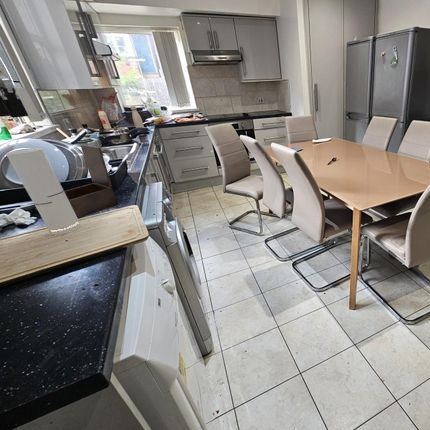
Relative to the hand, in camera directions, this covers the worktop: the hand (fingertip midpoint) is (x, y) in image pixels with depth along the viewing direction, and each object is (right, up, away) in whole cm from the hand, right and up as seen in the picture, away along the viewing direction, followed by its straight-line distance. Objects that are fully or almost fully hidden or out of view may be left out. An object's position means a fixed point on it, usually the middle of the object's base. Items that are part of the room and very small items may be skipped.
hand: (13, 116), depth 70 cm
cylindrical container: (+1, -31, +14) cm, 34 cm away
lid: (-3, -8, +29) cm, 30 cm away
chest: (-6, -23, +30) cm, 38 cm away
